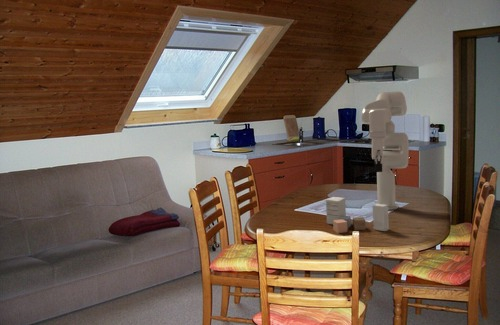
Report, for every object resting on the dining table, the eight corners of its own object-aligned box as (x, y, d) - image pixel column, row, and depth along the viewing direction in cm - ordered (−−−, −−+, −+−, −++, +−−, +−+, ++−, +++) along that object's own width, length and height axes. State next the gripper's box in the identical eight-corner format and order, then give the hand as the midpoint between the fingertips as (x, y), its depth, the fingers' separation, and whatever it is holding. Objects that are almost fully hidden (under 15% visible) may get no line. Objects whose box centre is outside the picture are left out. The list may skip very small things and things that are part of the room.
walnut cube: (353, 227, 241) (352, 217, 241) (363, 226, 241) (363, 217, 241) (355, 230, 236) (354, 220, 236) (365, 229, 236) (365, 219, 236)
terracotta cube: (333, 230, 238) (333, 220, 238) (342, 229, 240) (342, 219, 239) (337, 233, 234) (337, 223, 233) (347, 231, 235) (347, 221, 234)
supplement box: (333, 220, 256) (332, 196, 254) (346, 222, 251) (345, 197, 249) (326, 223, 250) (325, 199, 248) (339, 225, 245) (338, 200, 244)
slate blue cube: (340, 225, 246) (340, 215, 246) (350, 225, 244) (350, 216, 243) (338, 228, 242) (337, 218, 241) (348, 228, 240) (347, 218, 239)
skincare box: (389, 229, 235) (388, 204, 233) (384, 231, 231) (384, 206, 229) (377, 227, 239) (376, 203, 237) (372, 229, 236) (372, 205, 234)
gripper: (368, 134, 247) (369, 168, 249) (370, 136, 230) (371, 173, 232) (384, 133, 245) (384, 167, 247) (387, 136, 229) (387, 172, 231)
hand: (378, 170), depth 240 cm, fingers open, 9 cm apart
